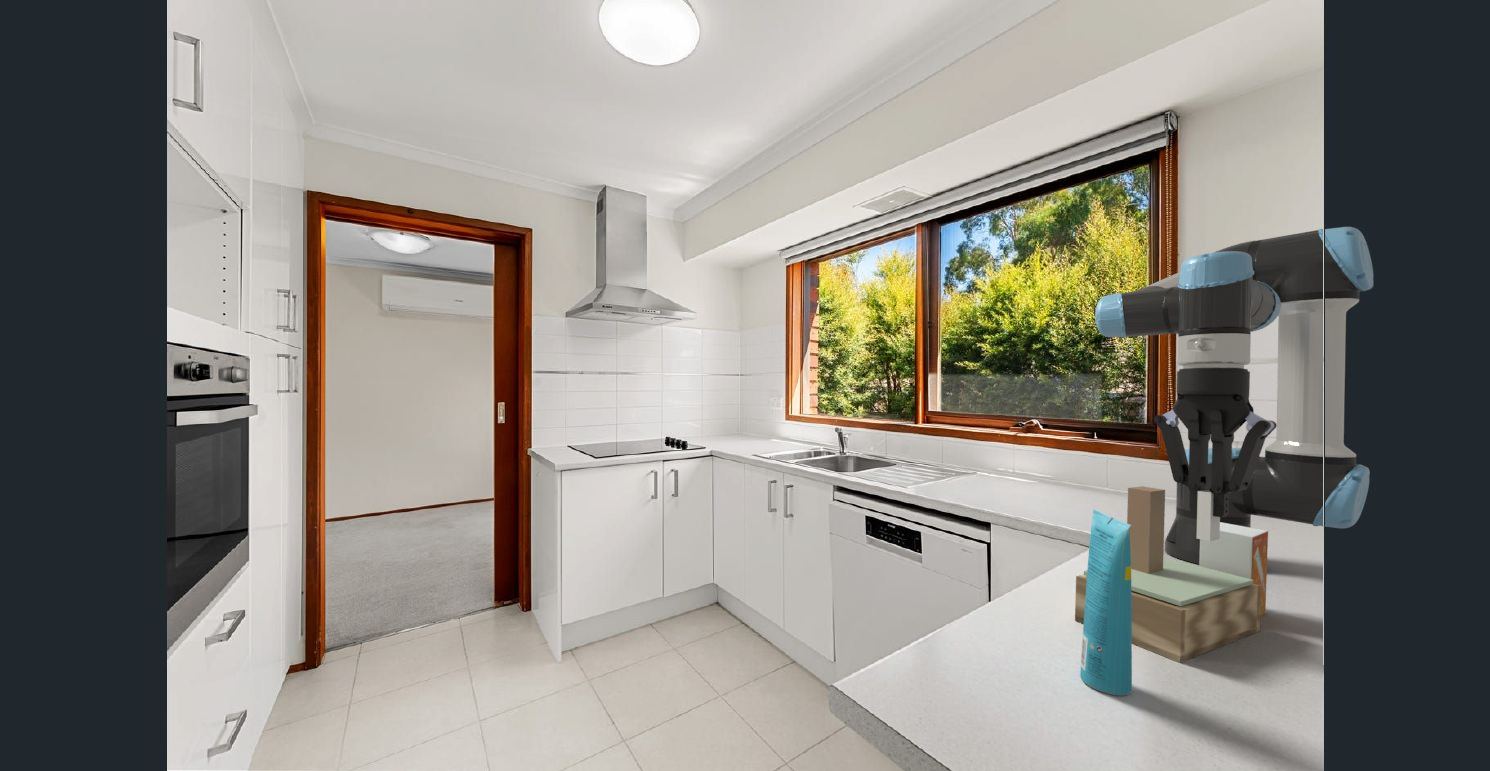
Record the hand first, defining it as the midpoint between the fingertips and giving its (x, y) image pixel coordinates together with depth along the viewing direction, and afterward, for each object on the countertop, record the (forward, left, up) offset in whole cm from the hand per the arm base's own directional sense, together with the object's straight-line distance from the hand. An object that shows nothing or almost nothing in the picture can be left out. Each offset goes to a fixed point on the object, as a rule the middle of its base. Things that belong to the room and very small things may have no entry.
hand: (1207, 538), depth 73 cm
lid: (0, -5, -7) cm, 9 cm away
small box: (-16, -3, -14) cm, 22 cm away
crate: (0, -5, -14) cm, 15 cm away
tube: (+25, +1, -14) cm, 29 cm away
